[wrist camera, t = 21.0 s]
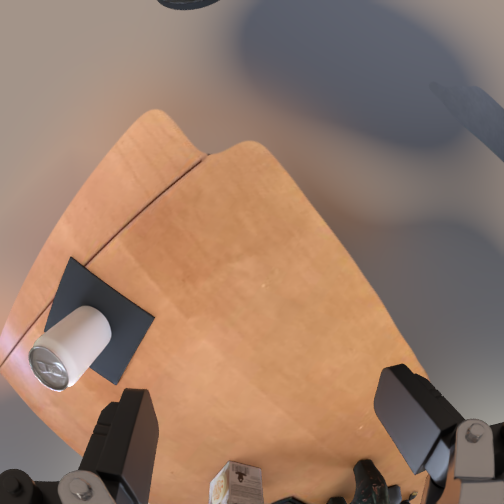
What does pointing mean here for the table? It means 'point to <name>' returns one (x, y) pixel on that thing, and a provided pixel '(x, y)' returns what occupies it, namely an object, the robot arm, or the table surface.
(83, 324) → the can
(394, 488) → the computer mouse
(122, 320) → the desk mat
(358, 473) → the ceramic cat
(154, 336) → the table surface
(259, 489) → the coffee box
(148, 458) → the robot arm
